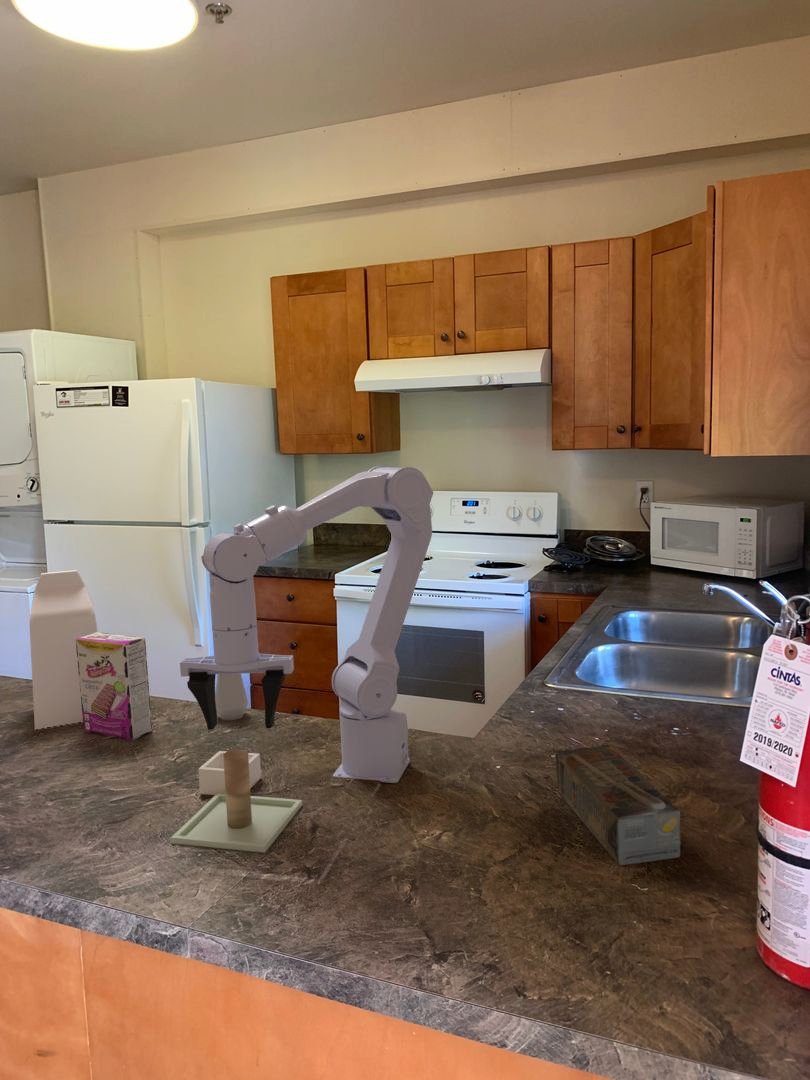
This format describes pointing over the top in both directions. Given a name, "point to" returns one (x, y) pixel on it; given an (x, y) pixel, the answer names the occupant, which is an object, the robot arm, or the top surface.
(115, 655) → the candy bar box
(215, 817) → the tray
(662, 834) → the beverage carton
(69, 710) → the milk
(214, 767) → the open box
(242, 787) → the dowel
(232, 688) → the salt shaker
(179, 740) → the top surface
